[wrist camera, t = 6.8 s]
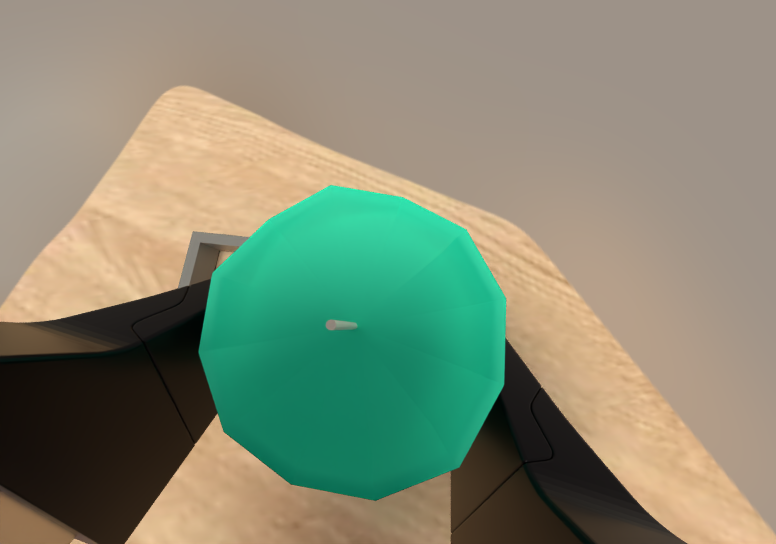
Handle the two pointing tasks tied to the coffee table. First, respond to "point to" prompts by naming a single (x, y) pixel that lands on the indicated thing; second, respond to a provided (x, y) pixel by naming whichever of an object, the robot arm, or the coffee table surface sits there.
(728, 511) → the coffee table surface
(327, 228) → the candle
